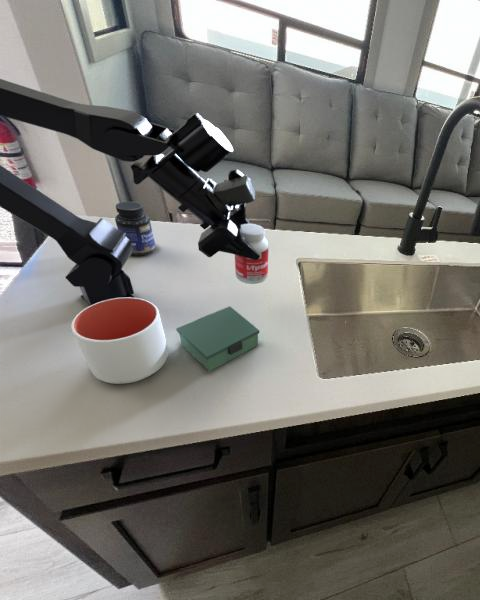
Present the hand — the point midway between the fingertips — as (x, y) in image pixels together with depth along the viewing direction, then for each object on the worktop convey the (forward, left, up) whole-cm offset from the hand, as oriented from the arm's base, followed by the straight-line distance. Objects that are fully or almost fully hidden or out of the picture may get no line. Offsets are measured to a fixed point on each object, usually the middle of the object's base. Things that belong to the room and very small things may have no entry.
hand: (259, 249), depth 65 cm
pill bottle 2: (-1, +1, -7) cm, 7 cm away
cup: (-25, -1, -13) cm, 28 cm away
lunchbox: (-13, -6, -13) cm, 20 cm away
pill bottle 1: (-9, +32, -13) cm, 36 cm away
